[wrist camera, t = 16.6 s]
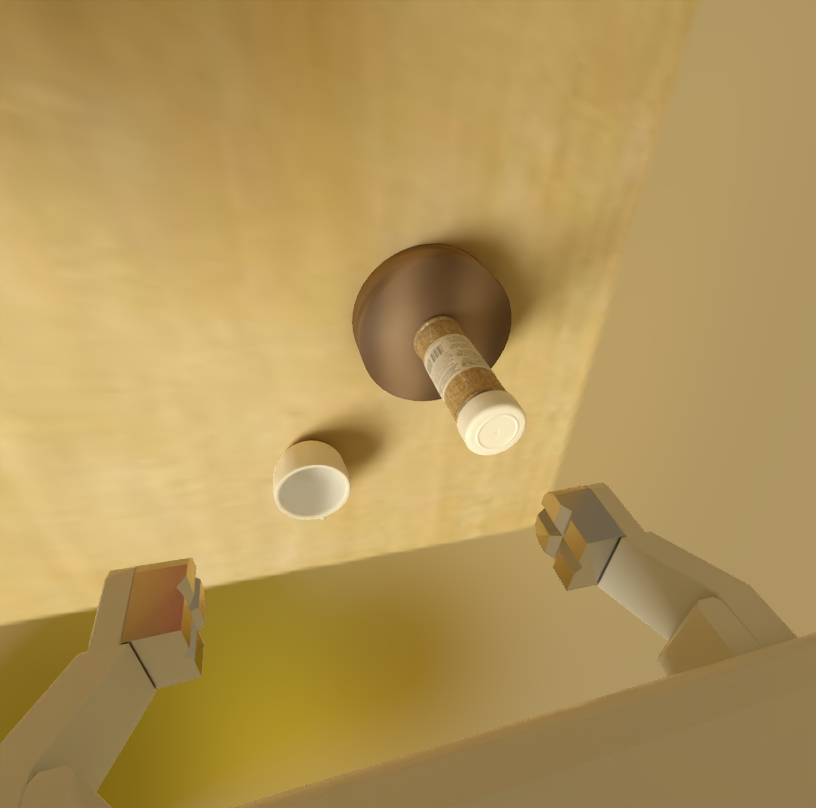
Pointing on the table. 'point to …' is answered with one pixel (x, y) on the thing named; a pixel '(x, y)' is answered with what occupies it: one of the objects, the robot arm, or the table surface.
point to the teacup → (310, 481)
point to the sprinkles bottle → (469, 388)
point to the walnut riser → (426, 314)
